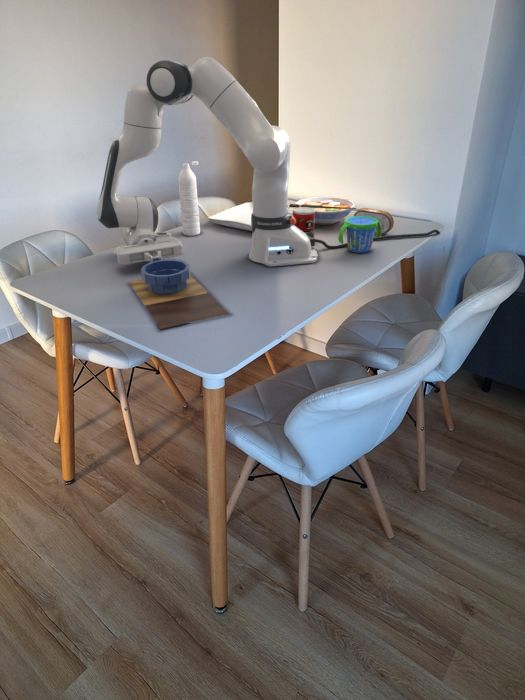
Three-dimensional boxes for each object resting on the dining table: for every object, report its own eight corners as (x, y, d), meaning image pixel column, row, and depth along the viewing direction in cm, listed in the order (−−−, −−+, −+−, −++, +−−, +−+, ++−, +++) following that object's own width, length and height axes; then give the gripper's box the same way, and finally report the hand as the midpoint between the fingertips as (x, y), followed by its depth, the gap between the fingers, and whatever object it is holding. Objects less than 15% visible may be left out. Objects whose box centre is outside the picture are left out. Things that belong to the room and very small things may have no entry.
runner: (129, 283, 150) (129, 282, 150) (187, 272, 156) (187, 271, 156) (144, 306, 136) (144, 305, 135) (208, 294, 142) (208, 292, 142)
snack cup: (344, 257, 166) (346, 226, 161) (331, 247, 175) (332, 218, 169) (387, 252, 170) (390, 221, 165) (372, 242, 179) (375, 213, 173)
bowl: (193, 278, 152) (191, 258, 149) (188, 296, 140) (186, 275, 137) (148, 279, 152) (146, 259, 149) (140, 297, 140) (137, 276, 137)
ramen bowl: (358, 216, 208) (359, 195, 204) (353, 233, 189) (355, 210, 184) (297, 213, 213) (297, 193, 209) (287, 229, 194) (287, 207, 190)
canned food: (299, 245, 177) (300, 213, 172) (288, 239, 183) (288, 208, 178) (318, 242, 180) (319, 210, 175) (306, 236, 186) (307, 205, 181)
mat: (144, 306, 136) (144, 305, 135) (208, 294, 142) (208, 292, 142) (160, 330, 124) (160, 328, 124) (229, 315, 131) (229, 313, 130)
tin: (392, 234, 186) (395, 211, 182) (389, 236, 184) (392, 213, 180) (354, 228, 193) (356, 206, 189) (351, 230, 191) (352, 208, 187)
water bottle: (190, 237, 187) (184, 165, 175) (179, 233, 191) (172, 163, 179) (208, 231, 193) (203, 162, 180) (197, 228, 197) (191, 160, 184)
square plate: (247, 210, 219) (247, 200, 217) (302, 219, 205) (302, 209, 203) (206, 225, 200) (205, 215, 198) (264, 237, 186) (264, 226, 184)
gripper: (109, 241, 156) (119, 254, 145) (174, 231, 164) (188, 244, 153) (112, 261, 159) (122, 275, 148) (176, 250, 167) (189, 264, 156)
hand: (156, 259), depth 151 cm, fingers closed
